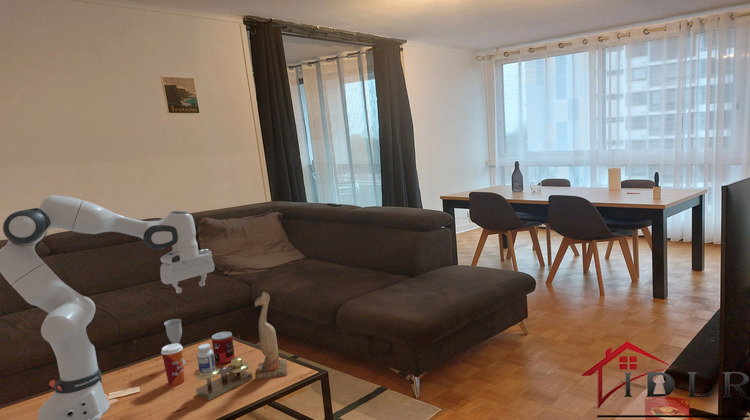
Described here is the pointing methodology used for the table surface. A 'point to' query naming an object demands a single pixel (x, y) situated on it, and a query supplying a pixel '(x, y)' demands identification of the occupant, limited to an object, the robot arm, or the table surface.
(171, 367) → the paper cup
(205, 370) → the pill bottle
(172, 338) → the chalice
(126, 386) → the table surface
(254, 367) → the table surface
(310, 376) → the table surface
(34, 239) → the robot arm
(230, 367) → the balance
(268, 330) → the bird sculpture
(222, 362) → the canned food
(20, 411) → the table surface
